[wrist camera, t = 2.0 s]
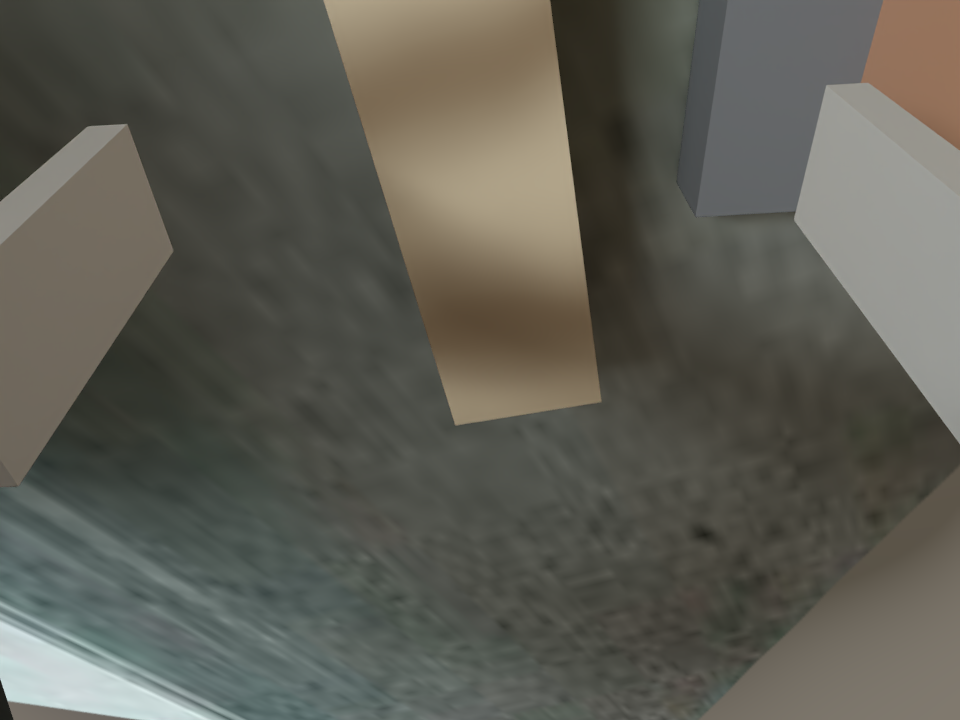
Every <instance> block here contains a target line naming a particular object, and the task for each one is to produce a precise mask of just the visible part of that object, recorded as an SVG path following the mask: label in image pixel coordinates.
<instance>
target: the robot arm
mask: <svg viewBox="0 0 960 720" xmlns="http://www.w3.org/2000/svg"><path fill="white" fill-rule="evenodd" d="M794 221H795V222H796V224H797V225H798V226H799V228H800V229H801V230H802V232H803V233H804V234H805V236H806V237H807V238H808V240H809V241H810V242H811V244H812V245H813V247H814V248H815V249H816V251H817V252H818V253H819V255H820V256H821V257H822V259H823V260H824V261H825V263H826V264H827V265H828V267H829V268H830V269H831V271H832V272H833V274H834V275H835V276H836V278H837V279H838V280H839V282H840V283H841V284H842V286H843V287H844V288H845V290H846V291H847V292H848V294H849V295H850V296H851V298H852V299H853V300H854V302H855V303H856V305H857V306H858V307H859V309H860V310H861V311H862V313H863V314H864V315H865V317H866V318H867V319H868V321H869V322H870V323H871V325H872V326H873V327H874V329H875V330H876V332H877V333H878V334H879V336H880V337H881V338H882V340H883V341H884V342H885V344H886V345H887V346H888V348H889V349H890V350H891V352H892V353H893V354H894V356H895V357H896V359H897V360H898V361H899V363H900V364H901V365H902V367H903V368H904V369H905V371H906V372H907V373H908V375H909V376H910V377H911V379H912V380H913V381H914V383H915V384H916V385H917V387H918V388H919V390H920V391H921V392H922V394H923V395H924V396H925V398H926V399H927V400H928V402H929V403H930V404H931V406H932V407H933V408H934V410H935V411H936V412H937V414H938V415H939V417H940V418H941V419H942V421H943V422H944V423H945V425H946V426H947V427H948V429H949V430H950V431H951V433H952V434H953V435H954V437H955V438H956V439H957V441H958V442H959V444H960V150H958V149H957V148H956V147H954V146H953V145H952V144H950V143H949V142H948V141H946V140H945V139H944V138H942V137H941V136H939V135H938V134H937V133H935V132H934V131H933V130H931V129H930V128H929V127H927V126H926V125H925V124H923V123H922V122H921V121H919V120H918V119H917V118H915V117H914V116H913V115H911V114H910V113H909V112H907V111H906V110H904V109H903V108H902V107H900V106H899V105H898V104H896V103H895V102H894V101H892V100H891V99H890V98H888V97H887V96H886V95H884V94H883V93H882V92H880V91H879V90H878V89H876V88H875V87H873V86H872V85H871V84H869V83H855V84H837V85H826V88H825V93H824V97H823V101H822V105H821V109H820V113H819V118H818V122H817V126H816V130H815V134H814V138H813V142H812V147H811V151H810V155H809V159H808V163H807V167H806V172H805V176H804V180H803V184H802V188H801V192H800V197H799V201H798V205H797V209H796V213H795V217H794ZM172 253H173V248H172V245H171V242H170V240H169V237H168V234H167V231H166V229H165V226H164V223H163V220H162V218H161V215H160V212H159V209H158V207H157V204H156V201H155V199H154V196H153V193H152V190H151V188H150V185H149V182H148V179H147V177H146V174H145V171H144V168H143V166H142V163H141V160H140V157H139V155H138V152H137V149H136V146H135V144H134V141H133V138H132V135H131V133H130V130H129V127H128V124H120V125H102V126H88V127H86V128H85V129H84V130H83V131H82V132H81V133H79V134H78V135H77V136H76V137H75V138H74V139H73V140H71V141H70V142H69V143H68V144H67V145H66V146H64V147H63V148H62V149H61V150H60V151H59V152H57V153H56V154H55V155H54V156H53V157H52V158H50V159H49V160H48V161H47V162H46V163H45V164H43V165H42V166H41V167H40V168H39V169H38V170H36V171H35V172H34V173H33V174H32V175H31V176H29V177H28V178H27V179H26V180H25V181H24V182H22V183H21V184H20V185H19V186H18V187H17V188H16V189H14V190H13V191H12V192H11V193H10V194H9V195H7V196H6V197H5V198H4V199H3V200H2V201H0V487H15V486H19V485H20V483H21V482H22V480H23V479H24V477H25V476H26V474H27V472H28V471H29V469H30V468H31V466H32V465H33V463H34V462H35V460H36V459H37V457H38V456H39V454H40V453H41V451H42V450H43V448H44V447H45V445H46V444H47V442H48V441H49V439H50V438H51V436H52V435H53V433H54V432H55V430H56V429H57V427H58V426H59V424H60V422H61V421H62V419H63V418H64V416H65V415H66V413H67V412H68V410H69V409H70V407H71V406H72V404H73V403H74V401H75V400H76V398H77V397H78V395H79V394H80V392H81V391H82V389H83V388H84V386H85V385H86V383H87V382H88V380H89V379H90V377H91V376H92V374H93V373H94V371H95V369H96V368H97V366H98V365H99V363H100V362H101V360H102V359H103V357H104V356H105V354H106V353H107V351H108V350H109V348H110V347H111V345H112V344H113V342H114V341H115V339H116V338H117V336H118V335H119V333H120V332H121V330H122V329H123V327H124V326H125V324H126V323H127V321H128V319H129V318H130V316H131V315H132V313H133V312H134V310H135V309H136V307H137V306H138V304H139V303H140V301H141V300H142V298H143V297H144V295H145V294H146V292H147V291H148V289H149V288H150V286H151V285H152V283H153V282H154V280H155V279H156V277H157V276H158V274H159V273H160V271H161V269H162V268H163V266H164V265H165V263H166V262H167V260H168V259H169V257H170V256H171V254H172ZM0 720H13V717H12V714H11V711H10V708H9V705H8V702H7V699H6V696H5V692H4V689H3V686H2V683H1V680H0Z"/></svg>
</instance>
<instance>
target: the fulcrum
mask: <svg viewBox="0 0 960 720" xmlns="http://www.w3.org/2000/svg"><path fill="white" fill-rule="evenodd" d="M855 83H869V84H871V85H872V86H873V87H875V88H876V89H878V90H879V91H880V92H882V93H883V94H884V95H886V96H887V97H888V98H890V99H891V100H892V101H894V102H895V103H896V104H898V105H899V106H900V107H902V108H903V109H904V110H906V111H907V112H909V113H910V114H911V115H913V116H914V117H915V118H917V119H918V120H919V121H921V122H922V123H923V124H925V125H926V126H927V127H929V128H930V129H931V130H933V131H934V132H935V133H937V134H938V135H939V136H941V137H942V138H944V139H945V140H946V141H948V142H949V143H950V144H952V145H953V146H954V147H956V148H957V149H958V150H960V0H699V8H698V16H697V24H696V32H695V40H694V48H693V56H692V64H691V72H690V80H689V88H688V96H687V103H686V111H685V119H684V127H683V135H682V143H681V151H680V159H679V167H678V175H677V184H678V186H679V188H680V189H681V191H682V193H683V195H684V197H685V199H686V201H687V202H688V204H689V206H690V208H691V210H692V212H693V213H694V215H695V217H709V216H726V215H743V214H760V213H777V212H794V211H796V209H797V205H798V201H799V197H800V192H801V188H802V184H803V180H804V176H805V172H806V167H807V163H808V159H809V155H810V151H811V147H812V142H813V138H814V134H815V130H816V126H817V122H818V118H819V113H820V109H821V105H822V101H823V97H824V93H825V88H826V85H837V84H855Z"/></svg>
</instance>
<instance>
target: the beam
mask: <svg viewBox="0 0 960 720" xmlns="http://www.w3.org/2000/svg"><path fill="white" fill-rule="evenodd" d="M324 3H325V6H326V10H327V13H328V16H329V19H330V22H331V26H332V29H333V32H334V35H335V39H336V42H337V45H338V48H339V51H340V55H341V58H342V61H343V64H344V68H345V71H346V74H347V77H348V81H349V84H350V87H351V90H352V93H353V97H354V100H355V103H356V106H357V110H358V113H359V116H360V119H361V122H362V126H363V129H364V132H365V135H366V139H367V142H368V145H369V148H370V152H371V155H372V158H373V161H374V164H375V168H376V171H377V174H378V177H379V181H380V184H381V187H382V190H383V193H384V197H385V200H386V203H387V206H388V210H389V213H390V216H391V219H392V223H393V226H394V229H395V232H396V235H397V239H398V242H399V245H400V248H401V252H402V255H403V258H404V261H405V265H406V268H407V271H408V274H409V277H410V281H411V284H412V287H413V290H414V294H415V297H416V300H417V303H418V306H419V310H420V313H421V316H422V319H423V323H424V326H425V329H426V332H427V336H428V339H429V342H430V345H431V348H432V352H433V355H434V358H435V361H436V365H437V368H438V371H439V374H440V377H441V381H442V384H443V387H444V390H445V394H446V397H447V400H448V403H449V407H450V410H451V413H452V416H453V419H454V423H455V425H461V424H468V423H474V422H480V421H486V420H493V419H499V418H505V417H511V416H518V415H524V414H530V413H536V412H543V411H549V410H555V409H561V408H568V407H574V406H580V405H586V404H593V403H599V402H601V394H600V386H599V378H598V371H597V363H596V355H595V347H594V339H593V332H592V324H591V316H590V308H589V300H588V292H587V285H586V277H585V269H584V261H583V253H582V245H581V238H580V230H579V222H578V214H577V206H576V199H575V191H574V183H573V175H572V167H571V159H570V152H569V144H568V136H567V128H566V120H565V112H564V105H563V97H562V89H561V81H560V73H559V66H558V58H557V50H556V42H555V34H554V26H553V19H552V11H551V3H550V0H324Z"/></svg>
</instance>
